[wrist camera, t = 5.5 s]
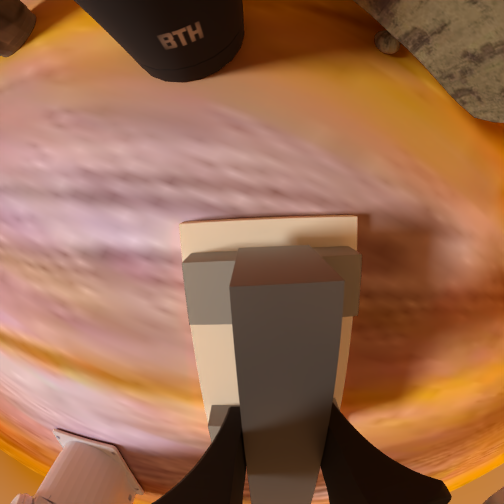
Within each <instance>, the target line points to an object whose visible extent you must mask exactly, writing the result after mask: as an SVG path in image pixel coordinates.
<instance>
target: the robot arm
mask: <svg viewBox="0 0 504 504" xmlns="http://www.w3.org/2000/svg"><path fill="white" fill-rule="evenodd" d="M53 433H54V435H55V437H56V438H57V440H58V441H59V443H60V444H61V446H62V447H63V449H62V451H61V452H60V454H59V456H58V457H57V459H56V460H55V462H54V464H53V465H52V467H51V469H50V470H49V472H48V474H47V475H46V477H45V479H44V480H43V482H42V484H41V485H40V487H39V489H38V491H37V492H36V494H35V496H30V495H28V494H18V495H17V496H16V497H15V498H14V499H13V501H12V502H11V503H10V504H133V501H134V498H135V495H136V494H140V495H143V494H144V491H143V489H142V488H141V486H140V485H139V483H138V482H137V480H136V479H135V477H134V476H133V474H132V473H131V471H130V469H129V468H128V466H127V464H126V463H125V461H124V459H123V458H122V456H121V454H120V453H119V451H118V449H117V448H116V447H115V446H113V445H109V444H105V443H101V442H97V441H94V440H90V439H86V438H83V437H79V436H76V435H73V434H70V433H67V432H64V431H61V430H58V429H54V430H53ZM320 466H321V470H322V473H323V476H324V480H325V483H326V487H327V491H328V495H329V502H330V504H448V502H449V501H450V500H451V494H450V492H449V490H448V489H447V487H446V486H445V484H444V483H443V481H441V480H438V479H434V478H431V477H428V476H425V475H422V474H420V473H418V472H415V471H413V470H411V469H409V468H407V467H405V466H403V465H401V464H400V463H398V462H396V461H394V460H393V459H391V458H390V457H388V456H387V455H385V454H384V453H382V452H381V451H380V450H378V449H377V448H376V447H374V446H373V445H372V444H371V443H370V442H369V441H368V440H366V439H365V438H364V437H363V436H362V435H361V434H360V433H359V432H358V431H357V430H356V429H355V428H354V427H353V426H352V425H351V424H350V422H349V421H348V420H347V419H346V418H345V417H344V416H343V414H342V413H341V412H340V411H339V409H338V408H337V407H336V406H335V404H334V403H333V402H332V408H331V414H330V420H329V426H328V431H327V436H326V442H325V447H324V451H323V456H322V461H321V465H320ZM245 474H246V457H245V449H244V440H243V431H242V422H241V413H240V406H231V407H229V408H228V411H227V414H226V417H225V419H224V421H223V423H222V425H221V427H220V429H219V431H218V433H217V435H216V437H215V438H214V440H213V442H212V443H211V445H210V446H209V448H208V449H207V451H206V452H205V454H204V455H203V456H202V458H201V459H200V460H199V462H198V463H197V464H196V465H195V466H194V468H193V469H192V470H191V471H190V472H189V473H188V474H187V475H186V476H185V477H184V478H183V479H182V480H181V481H180V482H179V483H178V484H177V485H176V486H175V487H173V488H172V489H171V490H170V491H168V492H167V493H166V494H165V495H163V496H162V497H161V498H159V499H158V500H156V501H155V502H153V503H152V504H242V500H243V490H244V482H245ZM483 504H504V487H503V488H501V489H500V490H499V491H497V492H496V493H494V494H493V495H492V496H490V497H489V498H488V499H487V500H486V501H485V502H484V503H483Z"/></svg>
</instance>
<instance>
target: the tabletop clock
mask: <svg viewBox="0 0 504 504" xmlns="http://www.w3.org/2000/svg"><path fill="white" fill-rule="evenodd" d="M353 1H355V2H356V3H357V4H358V5H360V6H361V7H362V8H363V9H364V10H365V11H367V12H368V13H369V14H370V15H371V16H372V17H373V18H374V19H376V20H377V21H378V22H379V23H380V24H381V25H382V26H383V27H384V28H385V29H386V30H383V31H380V32H378V33H377V34H376V35H375V45H376V47H377V48H378V49H379V50H380V51H381V52H383V53H386V54H393V53H395V52H397V51H398V50H399V48H400V43H402V44H403V45H404V46H405V47H406V48H407V49H408V50H409V51H410V52H411V53H412V54H413V55H414V56H415V57H416V58H417V59H418V60H419V61H420V62H421V63H422V64H423V65H424V66H425V67H426V69H427V70H428V71H429V72H430V73H431V74H432V75H433V76H434V77H435V78H436V80H437V81H438V82H439V83H440V84H441V85H442V86H443V87H444V89H445V90H446V91H447V92H448V93H449V94H450V95H451V96H452V97H453V98H454V99H455V100H456V101H457V102H458V103H459V104H460V105H461V106H462V107H463V108H464V109H466V110H467V111H468V112H469V113H470V114H471V115H472V116H473V117H474V118H479V119H483V120H487V121H491V122H499V123H504V0H353Z"/></svg>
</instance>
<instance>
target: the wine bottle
mask: <svg viewBox="0 0 504 504" xmlns="http://www.w3.org/2000/svg"><path fill="white" fill-rule="evenodd" d="M74 1H75V2H76V3H77V4H79V5H80V6H81V7H82V8H83V9H84V10H85V11H86V12H87V13H88V14H89V15H90V16H91V17H92V18H93V19H94V20H95V21H96V22H97V23H99V24H100V25H101V26H102V27H103V28H104V29H105V30H106V31H107V32H108V33H109V34H110V35H111V36H112V37H113V38H114V39H115V40H116V41H117V42H118V43H119V44H120V45H121V46H122V47H123V48H124V49H125V50H126V51H127V52H128V53H129V54H130V55H131V56H132V57H133V58H134V59H135V60H136V62H137V63H138V64H139V65H140V66H141V67H142V68H143V69H145V70H146V71H147V72H148V73H149V74H150V75H151V76H153V77H156V78H158V79H161V80H164V81H168V82H187V81H192V80H197V79H202V78H204V77H206V76H208V75H210V74H213V73H215V72H217V71H219V70H220V69H221V68H222V67H224V66H225V65H226V64H228V63H229V62H230V61H231V60H232V59H233V58H234V56H235V55H236V53H237V52H238V51H239V49H240V48H241V44H242V41H243V37H244V21H243V4H242V0H74Z"/></svg>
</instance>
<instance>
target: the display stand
mask: <svg viewBox="0 0 504 504" xmlns="http://www.w3.org/2000/svg"><path fill="white" fill-rule="evenodd" d="M179 230H180V242H181V252H182V270H183V279H184V287H185V295H186V303H187V311H188V318H189V325H190V326H191V333H192V340H193V346H194V352H195V358H196V364H197V370H198V376H199V381H200V387H201V392H202V397H203V402H204V407H205V412H206V417H207V421H208V429H209V433H210V438H211V442H213V440H214V438H215V437H216V435H217V433H218V431H219V429H220V427H221V425H222V423H223V421H224V419H225V417H226V414H227V411H228V408H229V407H231V406H240V403H239V394H238V383H237V373H236V362H235V351H234V340H233V328H232V316H231V304H230V291H229V285H230V281H231V277H232V273H233V269H234V265H235V261H236V256H237V252H238V248H247V247H269V246H291V245H310V246H311V247H312V248H313V249H314V250H315V251H316V252H317V253H318V254H319V255H320V256H321V257H322V258H323V259H324V260H325V261H326V262H327V263H328V264H329V265H330V266H331V267H332V268H333V269H334V270H335V271H336V272H337V273H338V274H339V275H340V276H341V277H342V278H343V279H344V280H345V283H344V301H343V315H342V328H341V338H340V348H339V357H338V366H337V374H336V381H335V389H334V395H333V403H334V404H335V406H336V407H337V408H338V409H339V411H340V407H341V402H342V396H343V390H344V384H345V378H346V371H347V364H348V357H349V349H350V341H351V332H352V322H353V316H358V310H359V298H360V285H361V268H362V254H360V253H359V252H357V216H353V215H321V216H288V217H262V218H241V219H222V220H204V221H189V222H182V223H180V224H179Z"/></svg>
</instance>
